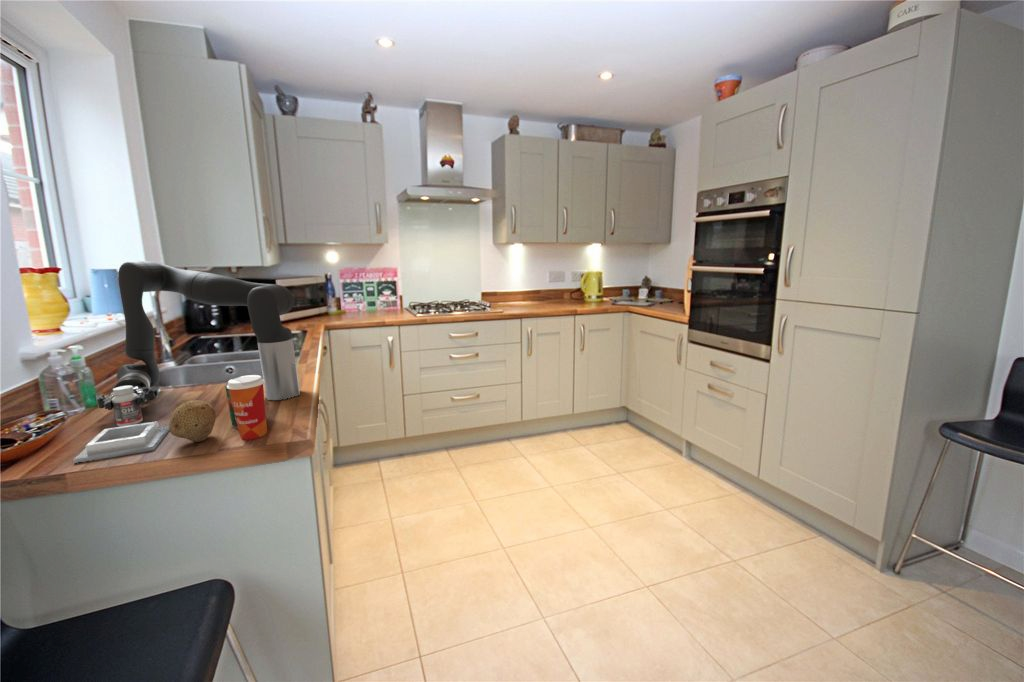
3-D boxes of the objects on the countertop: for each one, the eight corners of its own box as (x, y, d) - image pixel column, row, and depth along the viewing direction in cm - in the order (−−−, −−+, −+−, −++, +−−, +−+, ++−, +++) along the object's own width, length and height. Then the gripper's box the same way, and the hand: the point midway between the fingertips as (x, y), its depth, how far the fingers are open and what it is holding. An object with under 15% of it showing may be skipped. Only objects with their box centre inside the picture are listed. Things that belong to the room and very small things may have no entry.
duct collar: (170, 428, 116) (168, 417, 116) (154, 450, 104) (151, 437, 103) (100, 439, 111) (97, 427, 110) (74, 463, 98) (70, 450, 98)
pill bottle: (126, 428, 118) (118, 391, 116) (111, 426, 119) (103, 390, 117) (148, 420, 123) (140, 384, 121) (134, 418, 124) (126, 383, 122)
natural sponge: (173, 454, 101) (164, 411, 99) (172, 441, 108) (164, 400, 106) (221, 442, 107) (214, 401, 104) (218, 430, 114) (211, 392, 112)
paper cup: (227, 439, 108) (217, 382, 105) (256, 427, 115) (247, 373, 112) (251, 443, 105) (242, 385, 102) (279, 430, 112) (271, 375, 109)
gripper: (96, 380, 127) (83, 395, 113) (161, 370, 134) (156, 384, 121) (102, 405, 128) (90, 424, 114) (166, 395, 136) (162, 411, 122)
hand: (124, 403), depth 118 cm, fingers closed on pill bottle, 5 cm apart
